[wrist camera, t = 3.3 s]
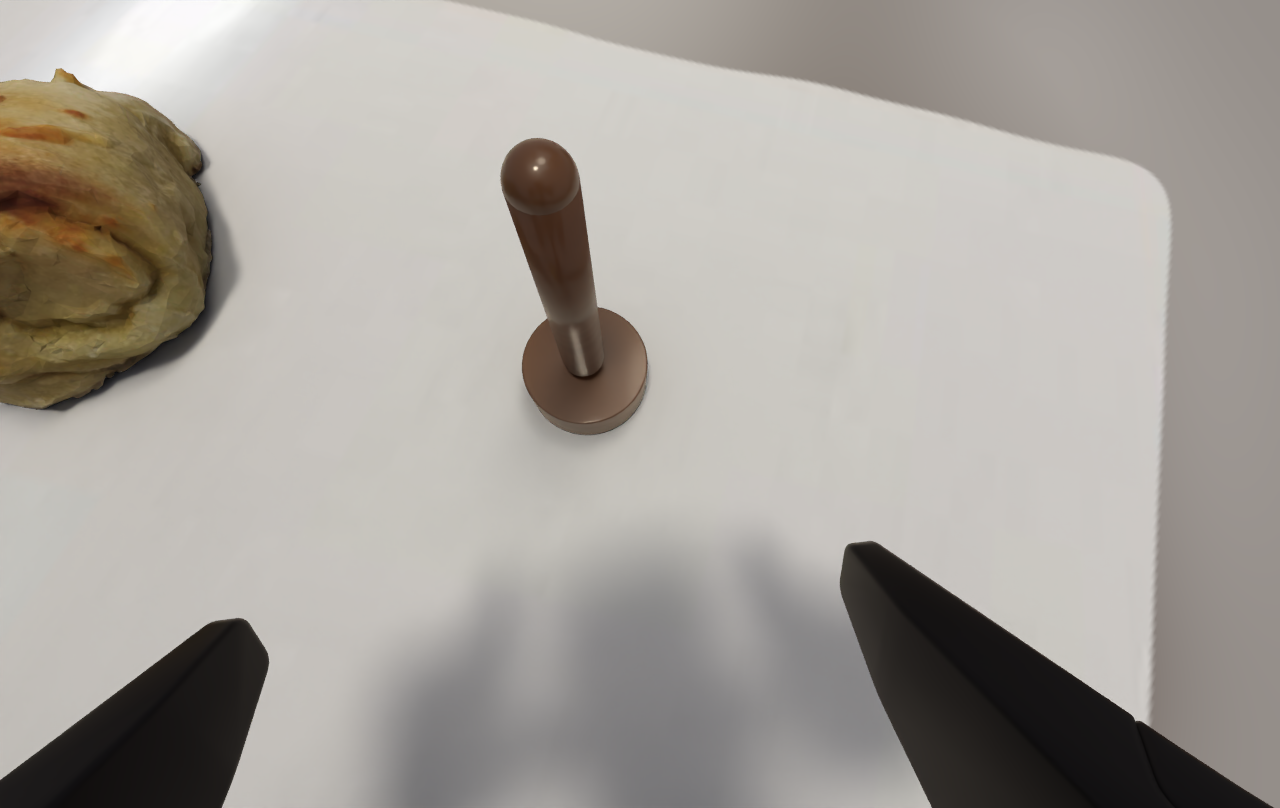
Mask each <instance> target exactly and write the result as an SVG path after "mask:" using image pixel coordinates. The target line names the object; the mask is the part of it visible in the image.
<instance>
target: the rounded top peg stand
mask: <svg viewBox="0 0 1280 808" xmlns="http://www.w3.org/2000/svg"><path fill="white" fill-rule="evenodd" d="M500 177H501V186H502V191H503V194H504V197H505V200H506V202H507V205H508V208H509V211H510V214H511V217H512V219H513V222H514V225H515V228H516V231H517V233H518V236H519V239H520V242H521V245H522V248H523V250H524V253H525V256H526V259H527V262H528V265H529V267H530V270H531V273H532V276H533V279H534V281H535V284H536V287H537V290H538V293H539V296H540V298H541V301H542V304H543V307H544V310H545V312H546V315H547V319H546V320H545V321H544V322H542V323H541V324H540V325H539V326H538V327H537V328H536V330H535V331H534V332H533V334H532V335H531V337H530V339H529V340H528V342H527V345H526V347H525V350H524V354H523V360H522V373H523V379H524V383H525V386H526V388H527V390H528V393H529V394H530V396H531V398H532V399H533V401H534V402H535V404H536V405H537V407H538V409H539V410H540V412H541V413H542V414H543V415H544V416H545V418H546V419H548V420H549V421H550V422H551V423H552V424H554V425H555V426H557V427H559V428H561V429H563V430H565V431H568V432H571V433H576V434H584V435H591V434H599V433H603V432H606V431H609V430H612V429H614V428H616V427H618V426H619V425H621V424H622V423H624V422H625V421H626V420H627V419H629V418H630V417H631V415H632V414H633V413H634V412H635V411H636V409H637V408H638V406H639V404H640V402H641V400H642V398H643V395H644V392H645V387H646V378H647V364H648V363H647V354H646V349H645V346H644V343H643V341H642V339H641V337H640V335H639V334H638V332H637V331H636V330H635V328H634V327H633V326H632V325H631V324H630V323H629V322H628V321H627V320H625V319H624V318H623V317H621V316H620V315H618V314H616V313H614V312H612V311H610V310H607V309H603V308H599V307H597V300H596V293H595V286H594V279H593V271H592V264H591V257H590V250H589V242H588V235H587V228H586V221H585V213H584V206H583V199H582V191H581V184H580V177H579V173H578V169H577V166H576V164H575V162H574V160H573V159H572V157H571V156H570V154H569V153H568V152H567V151H566V150H565V149H564V148H563V147H561V146H560V145H559V144H557V143H555V142H553V141H551V140H547V139H542V138H532V139H527V140H525V141H522V142H520V143H519V144H517V145H516V146H514V147H513V148H512V149H511V150H510V151H509V153H508V154H507V155H506V158H505V160H504V162H503V164H502V169H501V176H500Z"/></svg>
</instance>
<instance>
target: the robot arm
mask: <svg viewBox="0 0 1280 808" xmlns="http://www.w3.org/2000/svg"><path fill="white" fill-rule="evenodd" d="M840 590H841V594H842V598H843V601H844V603H845V606H846V609H847V612H848V614H849V617H850V620H851V623H852V625H853V628H854V631H855V634H856V636H857V639H858V642H859V645H860V648H861V650H862V653H863V656H864V659H865V661H866V664H867V667H868V670H869V672H870V675H871V678H872V680H873V683H874V686H875V688H876V691H877V693H878V696H879V698H880V700H881V702H882V705H883V707H884V709H885V711H886V713H887V715H888V717H889V719H890V721H891V724H892V726H893V728H894V730H895V732H896V734H897V736H898V738H899V740H900V742H901V744H902V746H903V748H904V751H905V753H906V755H907V757H908V759H909V761H910V763H911V765H912V767H913V769H914V771H915V773H916V775H917V777H918V780H919V782H920V784H921V786H922V788H923V790H924V792H925V794H926V796H927V798H928V800H929V802H930V804H931V806H932V808H1273V807H1272V806H1270V805H1268V804H1266V803H1265V802H1264V801H1262V800H1260V799H1259V798H1257V797H1255V796H1254V795H1252V794H1250V793H1249V792H1247V791H1246V790H1244V789H1243V788H1241V787H1239V786H1238V785H1236V784H1235V783H1233V782H1232V781H1230V780H1229V779H1227V778H1225V777H1224V776H1223V775H1221V774H1219V773H1218V772H1217V771H1215V770H1214V769H1212V768H1210V767H1209V766H1207V765H1206V764H1204V763H1203V762H1201V761H1200V760H1198V759H1197V758H1195V757H1194V756H1192V755H1191V754H1189V753H1188V752H1186V751H1185V750H1183V749H1181V748H1180V747H1178V746H1177V745H1175V744H1174V743H1172V742H1171V741H1169V740H1168V739H1166V738H1165V737H1164V736H1162V735H1161V734H1159V733H1158V732H1156V731H1155V730H1153V729H1152V728H1150V727H1149V726H1147V725H1146V724H1144V723H1143V722H1141V721H1136V722H1135V720H1134V717H1133V716H1132V715H1131V714H1129V713H1128V712H1126V711H1125V710H1123V709H1122V708H1120V707H1119V706H1117V705H1116V704H1115V703H1113V702H1112V701H1110V700H1109V699H1107V698H1106V697H1104V696H1103V695H1101V694H1100V693H1098V692H1097V691H1095V690H1094V689H1092V688H1091V687H1089V686H1088V685H1086V684H1085V683H1083V682H1082V681H1081V680H1079V679H1078V678H1076V677H1075V676H1073V675H1072V674H1070V673H1069V672H1067V671H1066V670H1064V669H1063V668H1061V667H1060V666H1058V665H1057V664H1055V663H1054V662H1052V661H1051V660H1049V659H1048V658H1047V657H1045V656H1044V655H1042V654H1041V653H1039V652H1038V651H1036V650H1035V649H1033V648H1032V647H1030V646H1029V645H1027V644H1026V643H1024V642H1023V641H1021V640H1020V639H1018V638H1017V637H1016V636H1014V635H1013V634H1011V633H1010V632H1008V631H1007V630H1005V629H1004V628H1002V627H1001V626H999V625H998V624H996V623H995V622H993V621H992V620H990V619H989V618H987V617H986V616H984V615H983V614H982V613H980V612H979V611H977V610H976V609H974V608H973V607H971V606H970V605H968V604H967V603H965V602H964V601H962V600H961V599H959V598H958V597H956V596H955V595H953V594H952V593H951V592H949V591H948V590H946V589H945V588H943V587H942V586H940V585H939V584H937V583H936V582H934V581H933V580H931V579H930V578H928V577H927V576H925V575H924V574H922V573H921V572H919V571H918V570H917V569H915V568H914V567H912V566H911V565H909V564H908V563H906V562H905V561H903V560H902V559H900V558H899V557H897V556H896V555H894V554H893V553H891V552H890V551H888V550H887V549H885V548H884V547H883V546H881V545H880V544H878V543H876V542H873V541H867V542H858V543H851V544H848V545H847V547H846V548H845V551H844V558H843V564H842V570H841V577H840ZM268 666H269V657H268V653H267V651H266V649H265V647H264V646H263V644H262V643H261V641H260V640H259V638H258V636H257V635H256V633H255V632H254V630H253V629H252V627H251V625H250V624H249V623H248V621H246V620H244V619H242V618H235V619H227V620H219V621H214V622H211V623H209V624H207V625H206V626H204V627H203V628H202V629H200V630H199V631H198V632H196V633H195V634H194V635H192V636H191V637H190V638H188V639H187V640H186V641H184V642H183V643H182V644H180V645H179V646H178V647H176V648H175V649H174V650H172V651H171V652H170V653H168V654H167V655H166V656H164V657H163V658H162V659H161V660H159V661H158V662H157V663H155V664H154V665H153V666H151V667H150V668H149V669H147V670H146V671H145V672H143V673H142V674H141V675H139V676H138V677H137V678H135V679H134V680H133V681H131V682H130V683H129V684H127V685H126V686H125V687H123V688H122V689H121V690H119V691H118V692H117V693H115V694H114V695H113V696H111V697H110V698H109V699H107V700H106V701H105V702H103V703H102V704H101V705H99V706H98V707H97V708H95V709H94V710H93V711H91V712H90V713H89V714H87V715H86V716H85V717H84V718H82V719H81V720H80V721H78V722H77V723H76V724H74V725H73V726H72V727H70V728H69V729H68V730H66V731H65V732H64V733H62V734H61V735H60V736H58V737H57V738H56V739H54V740H53V741H52V742H50V743H49V744H48V745H46V746H45V747H44V748H42V749H41V750H40V751H38V752H37V753H36V754H34V755H33V756H32V757H30V758H29V759H28V760H26V761H25V762H24V763H22V764H21V765H20V766H18V767H17V768H16V769H14V770H13V771H12V772H10V773H9V774H8V775H6V776H5V777H4V778H3V779H1V780H0V808H222V806H223V803H224V801H225V798H226V796H227V793H228V791H229V788H230V786H231V783H232V780H233V777H234V774H235V772H236V769H237V766H238V763H239V760H240V757H241V754H242V751H243V747H244V744H245V741H246V738H247V735H248V732H249V728H250V725H251V722H252V719H253V716H254V713H255V709H256V706H257V703H258V700H259V697H260V694H261V690H262V687H263V684H264V681H265V678H266V675H267V671H268Z"/></svg>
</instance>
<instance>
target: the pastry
mask: <svg viewBox="0 0 1280 808" xmlns="http://www.w3.org/2000/svg"><path fill="white" fill-rule="evenodd" d="M201 167H202V162H201V151H200V150H199V148H198V147H197V146H196V144H195V143H194V142H193V141H192V140H191V139H190V138H189V137H188V136H187V135H186V134H184V133H183V132H182V131H180V130H179V129H178V128H177V127H176V126H175V125H174V124H173V122H172V121H170V120H169V119H168V118H167V117H166V116H164V115H163V114H161V113H160V112H159V111H157V110H156V109H154V108H153V107H152V106H151V105H149V104H148V103H147V102H145V101H143V100H141V99H139V98H136V97H133V96H130V95H127V94H122V93H116V92H103V91H96V90H94V89H92V88H90V87H88V86H86V85H84V84H82V83H80V82H79V81H78V80H77V79H76V77H75V76H74V75H73V74H70V73H67V72H65V71H64V70H63V69H62V68H61V69H56V71H55V75H54V78H53V79H52V81H51V82H39V81H34V80H29V79H23V80H11V81H5V82H0V402H2V403H9V404H13V405H17V406H22V407H25V408H36V410H37V409H45V408H47V407H48V406H51V405H52V404H56V403H58V402H61V401H63V400H66V399H68V398H70V397H75V398H80V397H82V396H84V395H86V394H87V393H89V392H91V389H96V390H97V389H99V388H100V387H101V386H102V385H103V382H104V379H105V377H107V378H111V377H113V376H114V375H115V374H114V372H117V371H118V372H121V371H122V372H124V371H125V370H127V369H128V368H130V367H131V366H133V365H134V364H135V363H136V362H138V361H139V360H141V359H143V358H144V357H146V356H147V355H149V354H150V353H151V352H153V351H154V350H155V349H156V348H157V347H158V346H159V345H160V344H161V343H163V342H165V341H168V340H171V339H174V338H177V337H178V334H180V333H181V332H182V331H184V330H185V329H186V328H188V327H190V326H191V323H193V322H194V321H195V320H196V319H197V317H198V315H199V314H200V313H201V312H202V311H203V309H204V308H205V306H204V299H205V289H206V283H207V277H209V274H210V261H211V260H212V258H213V257H212V255H211V245H212V243H211V242H212V240H211V231H210V230H208V225H207V220H206V217H207V214H208V211H207V208H206V205H205V202H204V198H203V195H202V193H201V192H200V190H199V188H198V186H199V185H201V184H200V183H198V182H197V183H196V181H195V179H193V178H192V177H191V176H192V175H194V174H196V173H197V172H198V171H199V170H200V169H201Z"/></svg>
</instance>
